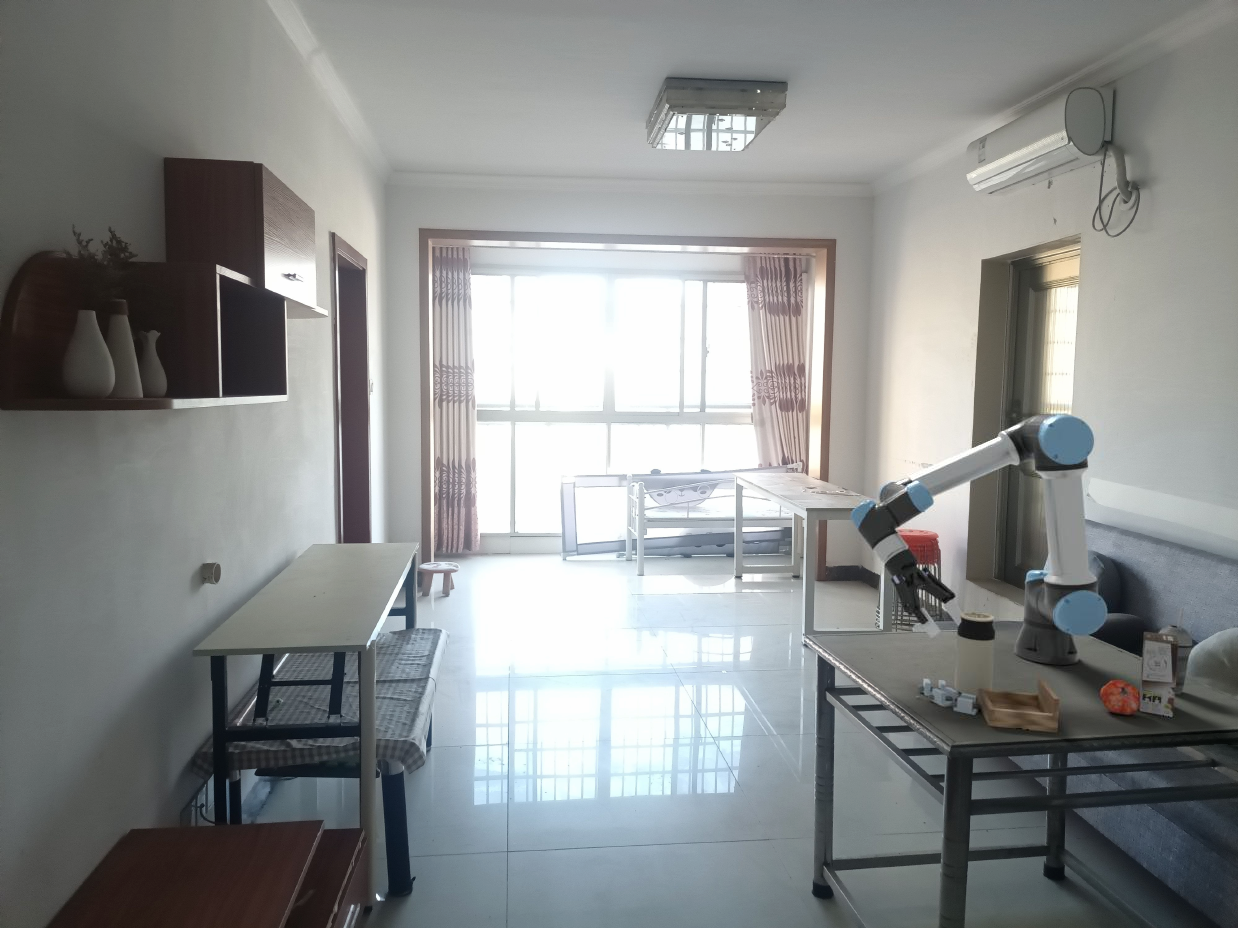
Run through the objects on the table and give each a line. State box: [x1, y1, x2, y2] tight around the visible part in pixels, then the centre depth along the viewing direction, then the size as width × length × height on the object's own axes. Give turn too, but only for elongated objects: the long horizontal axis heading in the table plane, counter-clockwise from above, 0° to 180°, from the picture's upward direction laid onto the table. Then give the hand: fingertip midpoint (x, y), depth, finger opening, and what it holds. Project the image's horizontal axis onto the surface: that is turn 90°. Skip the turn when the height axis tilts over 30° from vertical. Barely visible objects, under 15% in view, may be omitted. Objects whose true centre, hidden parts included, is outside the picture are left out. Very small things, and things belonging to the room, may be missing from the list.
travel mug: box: [954, 610, 996, 698], centre depth 195 cm, size 8×8×18 cm
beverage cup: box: [1158, 607, 1194, 695], centre depth 198 cm, size 7×7×20 cm
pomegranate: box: [1100, 679, 1140, 716], centre depth 184 cm, size 7×7×10 cm
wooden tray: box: [976, 678, 1060, 734], centre depth 179 cm, size 13×13×7 cm
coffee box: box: [1139, 631, 1179, 718], centre depth 186 cm, size 9×6×16 cm
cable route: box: [917, 678, 981, 716], centre depth 188 cm, size 12×14×3 cm
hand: (951, 629), depth 198 cm, fingers open, 13 cm apart
